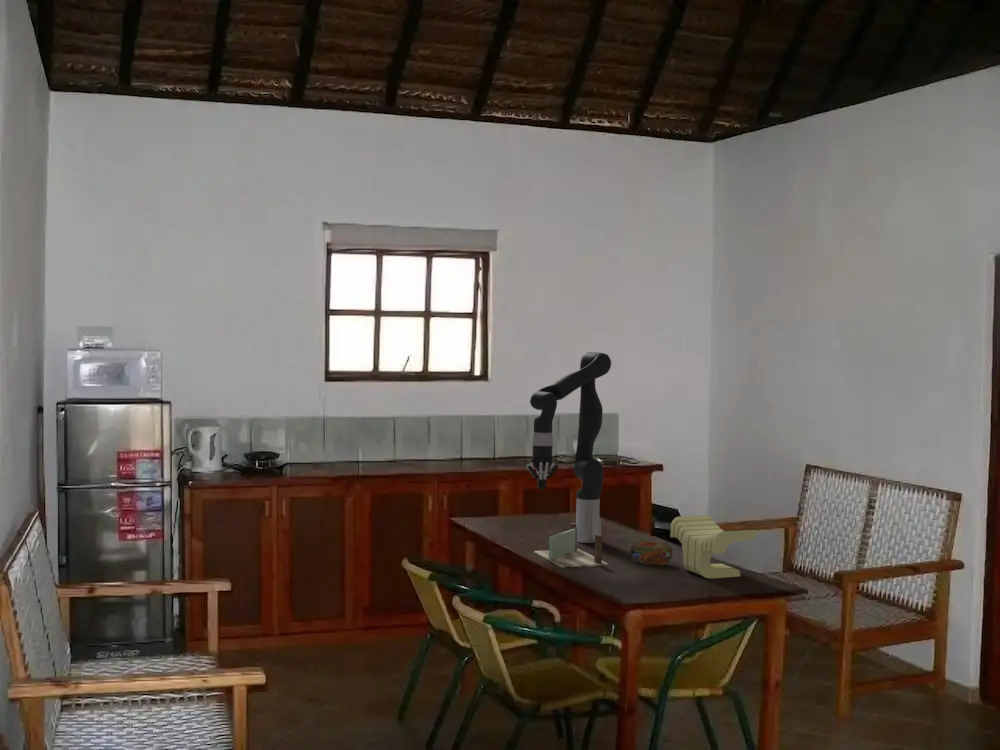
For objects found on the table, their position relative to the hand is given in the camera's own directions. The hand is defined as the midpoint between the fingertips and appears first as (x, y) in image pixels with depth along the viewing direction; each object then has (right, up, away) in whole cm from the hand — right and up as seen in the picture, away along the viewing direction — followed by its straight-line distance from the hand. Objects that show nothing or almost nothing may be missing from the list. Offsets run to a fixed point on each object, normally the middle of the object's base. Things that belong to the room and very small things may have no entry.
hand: (541, 489), depth 418 cm
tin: (+39, -25, -21) cm, 51 cm away
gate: (+8, -23, -13) cm, 27 cm away
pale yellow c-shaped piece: (+58, -26, -35) cm, 72 cm away
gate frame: (+10, -24, -17) cm, 31 cm away
